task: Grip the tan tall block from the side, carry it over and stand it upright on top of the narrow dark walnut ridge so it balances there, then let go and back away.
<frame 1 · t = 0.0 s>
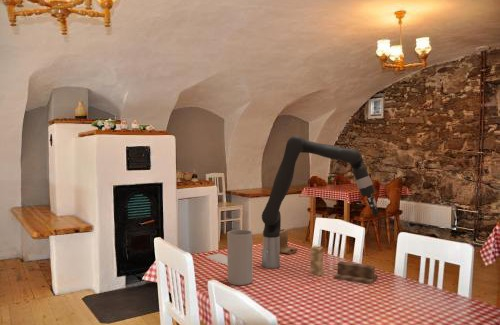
hand: (376, 215, 233), 31 cm above the table, tool tilted 20°, fingers open, 8 cm apart
cylinder vase: (240, 282, 225), on the table
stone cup: (283, 252, 283), on the table
tan tall block: (316, 273, 238), on the table
baseboard: (225, 263, 262), on the table
walnut ridge: (355, 278, 229), on the table
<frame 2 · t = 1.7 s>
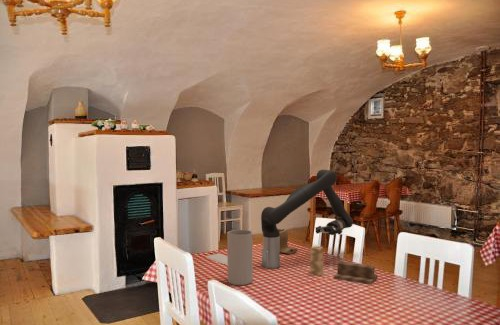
hand: (324, 232, 246), 20 cm above the table, tool horizontal, fingers open, 8 cm apart
nothing on the table moved.
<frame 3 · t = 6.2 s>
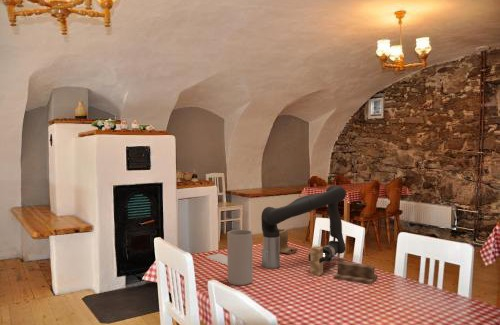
hand: (314, 260, 235), 8 cm above the table, tool horizontal, fingers closed on tan tall block, 5 cm apart
tan tall block: (316, 273, 238), on the table, touching gripper
everything else where it was.
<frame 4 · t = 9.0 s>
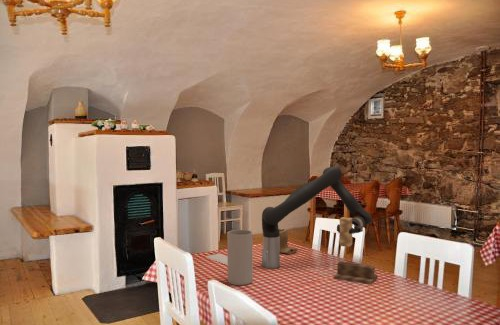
hand: (344, 231, 228), 24 cm above the table, tool horizontal, fingers closed on tan tall block, 5 cm apart
tan tall block: (346, 245, 231), point 16 cm above the table, touching gripper
everything else where it was.
when the fingers open (16 cm above the table, at t = 12.1 s): tan tall block drops 1 cm, resting on walnut ridge.
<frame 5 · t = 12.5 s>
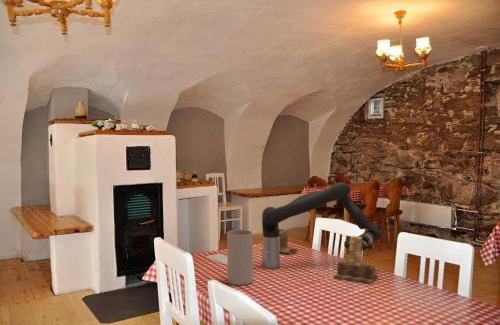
hand: (354, 247, 227), 16 cm above the table, tool horizontal, fingers open, 8 cm apart
tan tall block: (355, 264, 229), point 7 cm above the table, touching walnut ridge
everything else where it was.
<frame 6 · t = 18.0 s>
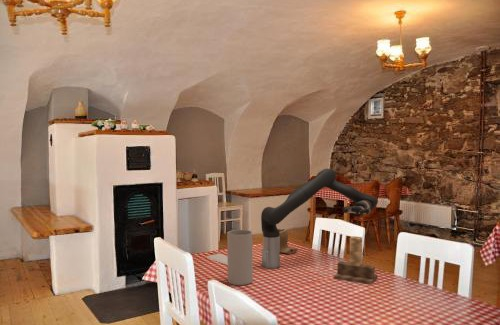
hand: (352, 211, 241), 32 cm above the table, tool horizontal, fingers open, 8 cm apart
nothing on the table moved.
at the end: tan tall block inside the target area on the walnut ridge (0.1 cm from its centre), point 7.0 cm above the walnut ridge's base; tan tall block tilted 0°; the gripper is holding nothing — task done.
